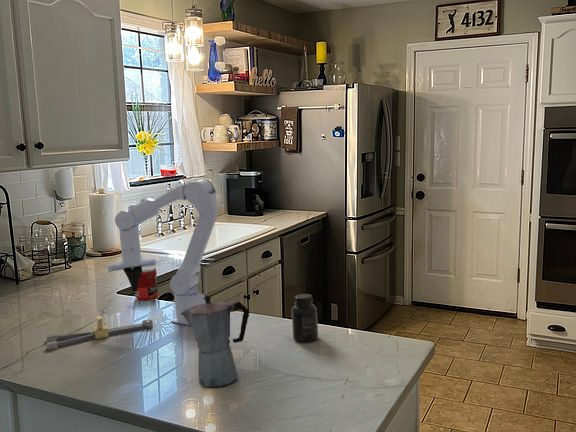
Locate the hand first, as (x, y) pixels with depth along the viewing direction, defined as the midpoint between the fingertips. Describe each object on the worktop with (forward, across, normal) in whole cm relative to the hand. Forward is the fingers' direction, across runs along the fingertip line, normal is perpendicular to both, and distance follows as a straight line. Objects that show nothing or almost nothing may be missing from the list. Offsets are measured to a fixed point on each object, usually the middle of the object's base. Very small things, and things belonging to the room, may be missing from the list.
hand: (134, 290), depth 179 cm
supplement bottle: (+10, -38, +44) cm, 59 cm away
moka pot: (+10, -10, +58) cm, 59 cm away
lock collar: (+9, +12, +10) cm, 18 cm away
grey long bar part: (+9, +12, +10) cm, 18 cm away
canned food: (+10, -7, -25) cm, 27 cm away
